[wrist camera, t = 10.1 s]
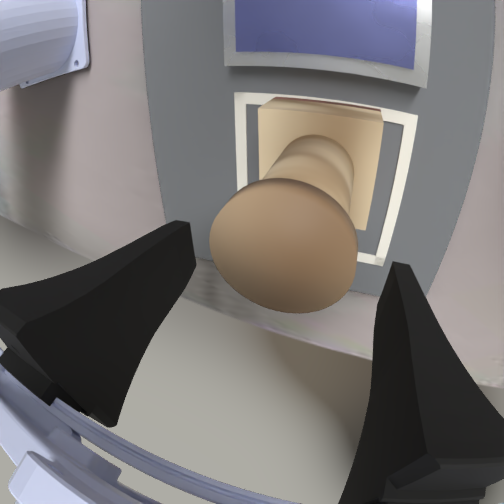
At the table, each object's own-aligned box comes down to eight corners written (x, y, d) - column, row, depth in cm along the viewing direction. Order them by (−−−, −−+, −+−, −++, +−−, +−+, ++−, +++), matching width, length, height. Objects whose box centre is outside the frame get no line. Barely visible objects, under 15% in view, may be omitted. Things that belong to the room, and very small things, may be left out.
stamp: (275, 186, 17) (205, 303, 10) (275, 96, 14) (181, 163, 7) (366, 201, 16) (353, 337, 9) (380, 109, 12) (396, 192, 6)
